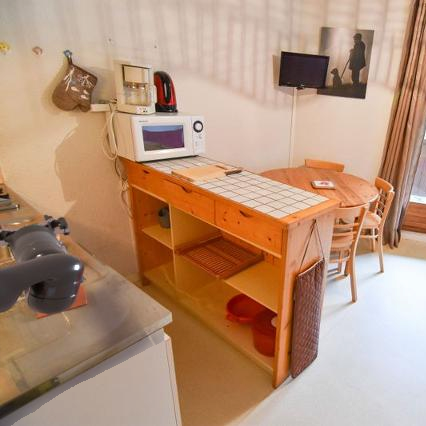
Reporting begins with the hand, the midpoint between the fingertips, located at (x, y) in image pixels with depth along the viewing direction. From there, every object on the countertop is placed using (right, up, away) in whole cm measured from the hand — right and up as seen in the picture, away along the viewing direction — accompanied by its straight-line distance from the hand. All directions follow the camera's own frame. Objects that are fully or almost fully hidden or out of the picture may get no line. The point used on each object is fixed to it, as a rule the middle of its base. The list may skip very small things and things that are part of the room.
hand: (23, 222), depth 76 cm
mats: (-8, -21, +20) cm, 30 cm away
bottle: (-11, -19, +25) cm, 33 cm away
